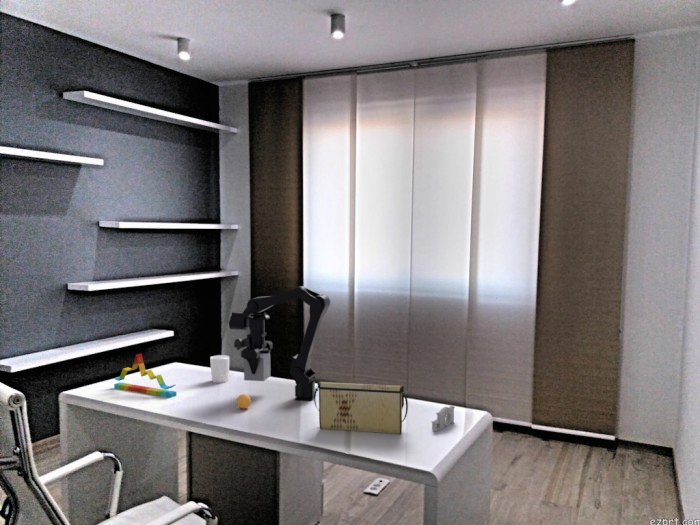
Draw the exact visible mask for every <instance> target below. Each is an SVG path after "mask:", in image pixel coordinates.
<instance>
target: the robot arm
mask: <svg viewBox="0 0 700 525" xmlns="http://www.w3.org/2000/svg"><path fill="white" fill-rule="evenodd" d="M298 298H299V299H300V300H301V301H303V303H305V304H306V305H308V306H309V309H308V310H309V311H308V312H309V320H308V323H307V327H306V330H305V333H304V336H303V339H302V343H301V347H300V349H299V353H298V354H296V355H295V356H292V357H291V363H290V366H288V368H289V371H290V372H289V374H290V375H291V377H293V379H294V382H295V384H296V385H295V386H294V396H295V398H294V400H297V401H299V400H300V401H314V393H315V389H316V382H315V379H316V377H317V373H316V372H315V371H314V370H313V368H312V367H311V365H312V352H313V349H314V347H315V346H314V345H315V342H316V338H317V336H318V333H319V328H320V326H321V324H322V323H321V322H322V319H323V318H324V316H325V315H326V313H327V312H328V310H329V308H330V306H331V299H330V298H329V296H328V295H326V294H320V293H318V292H316V291H313V290H312V289H310V288H307V287H306V286H304V285H302V286H301V285H300V286H297V287H295V288H293V289H290V290H287V291H283V292H280V293H277V294H272V295H268V296H267V295H266V296H257V297H254V298H250V299H249V300H248V301H247V303H246V308H245V309H244V310H243V312H239V311H233V312H231V316H230V319H229V321H228V327H229V329H230V330H231V331H247V330H248V329H249V330H248V331H249V332H248V333H247V334H246V337H244V338H240V337H239V338H236V339H234V342H233V347H234V348H236V350H237V351H239V350H241V349H242V350H241V351H240V357H241V358H243V360H244V359H246V360H247V361H248V363H249V365H250V369H251V372H252V374H255V373H256V370H257V367H258V364H259V360H260V357H261V356H259V355H260V353H270V354H271V352H272V349H273V348H274V347H273V346H274V343H273V342H272V341H271V340H266V339H265V337H266V336H267V332H266V331H265V328H266V327H265V323H266V322H265V320H266V321H267V320H269V319H271V316H270V315H268V313H267V312H264V311H266V310H268V309H270V308H271V307H273V306H275V305H278V304H283V303H285V302H289V301H292V300H295V299H298ZM262 312H263V313H262ZM258 313H261V314H258ZM251 315H253V316H251Z"/></svg>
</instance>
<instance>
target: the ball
mask: <svg viewBox="0 0 700 525" xmlns="http://www.w3.org/2000/svg"><path fill="white" fill-rule="evenodd" d="M251 399H252V398H251V397H250V396H249V395H248V394H245V393H242V394H240V395H239V396H237V398H236V405H237V407H238V408H239V409H243V410H244V409H247V408H249V407H250V406H251V404H252V400H251Z"/></svg>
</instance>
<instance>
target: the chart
mask: <svg viewBox="0 0 700 525" xmlns="http://www.w3.org/2000/svg"><path fill="white" fill-rule="evenodd" d="M137 369H139V372H140V373H139V374H140V377H146V376H148V377H149V379H150V380H156V381H157V383H158V384H159V387H160V388H158V387H149V386H144V385H138V384H132V383H127V382H119V381H123V380H125V378H126V375H127V373H128V372H130V371H134V370H137ZM113 379H114V380H116V381H117V383H114V389H118V390H124V391H130V392H136V393H141V394H147V395H152V396H153V395H154V396H158V397H164V398H170V399H171V398H174V397H177V395H178V394H177V391H175V390H169V389H172V388H173V387H175V386H176V384H173V385H170V386H169V385H167V384H166V383H165V381H164V379H163V376H162V374H156V375H155V373H154V372H153V370H152V369H148V370H146V366H145V362H144V358H143V354H142V353H137V354H135V358H134V361H133V364H132V366H131V367H125V368H122V371H121V373H120V375H119V376H117V377H114V378H113Z"/></svg>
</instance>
